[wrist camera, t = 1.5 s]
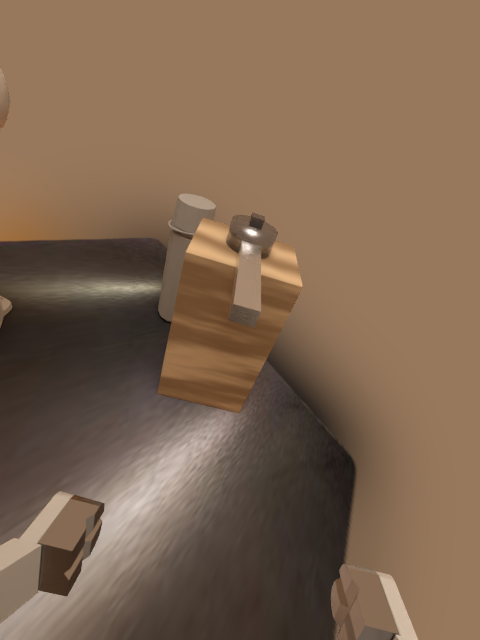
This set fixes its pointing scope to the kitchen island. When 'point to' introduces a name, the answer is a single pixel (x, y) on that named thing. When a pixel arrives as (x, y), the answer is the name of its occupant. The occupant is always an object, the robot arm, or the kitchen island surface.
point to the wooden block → (223, 322)
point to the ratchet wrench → (248, 265)
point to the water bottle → (181, 246)
